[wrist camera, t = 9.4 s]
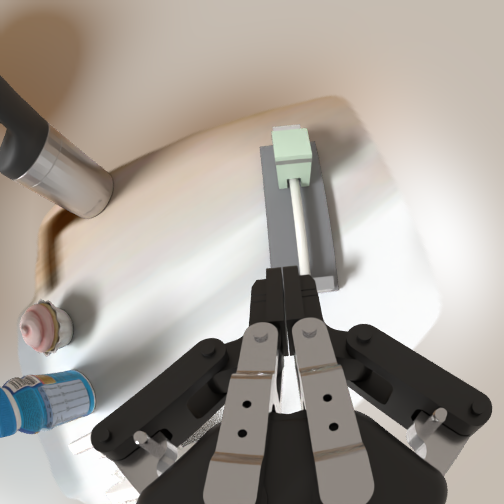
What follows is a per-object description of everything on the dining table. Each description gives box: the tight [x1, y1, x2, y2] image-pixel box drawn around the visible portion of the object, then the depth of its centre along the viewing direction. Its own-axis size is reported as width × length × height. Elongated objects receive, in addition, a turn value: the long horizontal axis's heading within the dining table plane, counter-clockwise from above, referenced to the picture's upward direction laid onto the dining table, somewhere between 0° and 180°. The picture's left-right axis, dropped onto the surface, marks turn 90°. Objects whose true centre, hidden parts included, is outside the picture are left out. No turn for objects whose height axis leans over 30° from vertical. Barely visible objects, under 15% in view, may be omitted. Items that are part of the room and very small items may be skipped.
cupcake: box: [20, 299, 73, 357], centre depth 34 cm, size 9×9×10 cm
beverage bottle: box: [0, 370, 96, 438], centre depth 27 cm, size 8×8×20 cm
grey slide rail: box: [260, 124, 339, 293], centre depth 35 cm, size 21×8×6 cm, turn 4°
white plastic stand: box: [68, 433, 197, 504], centre depth 28 cm, size 15×11×12 cm
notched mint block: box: [271, 128, 312, 189], centre depth 33 cm, size 4×4×8 cm
